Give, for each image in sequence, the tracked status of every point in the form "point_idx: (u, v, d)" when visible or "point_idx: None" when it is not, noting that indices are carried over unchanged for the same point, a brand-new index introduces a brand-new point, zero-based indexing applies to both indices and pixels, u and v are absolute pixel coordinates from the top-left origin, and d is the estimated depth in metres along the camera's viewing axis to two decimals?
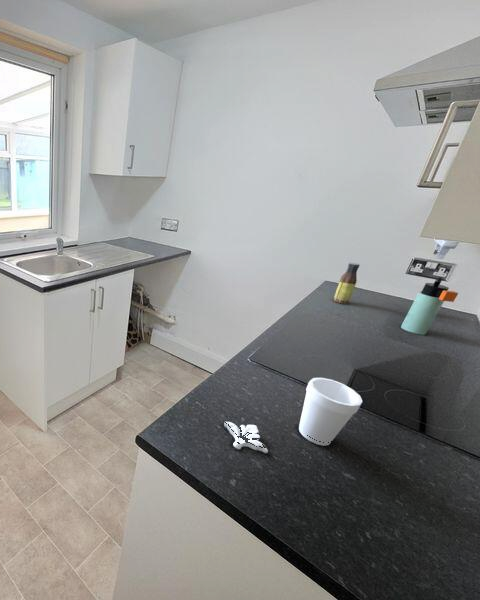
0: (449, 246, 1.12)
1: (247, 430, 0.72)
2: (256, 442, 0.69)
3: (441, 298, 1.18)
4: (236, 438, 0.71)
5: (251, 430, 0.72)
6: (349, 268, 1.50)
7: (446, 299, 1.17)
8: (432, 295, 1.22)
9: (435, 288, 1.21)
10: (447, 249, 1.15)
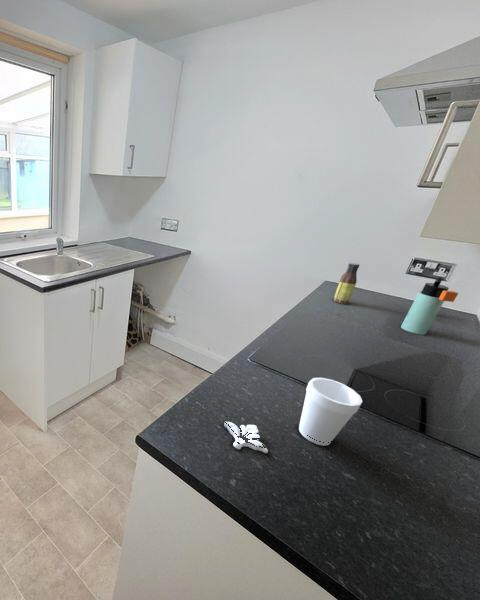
0: None
1: (247, 430, 0.72)
2: (256, 442, 0.69)
3: (441, 298, 1.18)
4: (236, 438, 0.71)
5: (251, 430, 0.72)
6: (349, 268, 1.50)
7: (446, 299, 1.17)
8: (432, 295, 1.22)
9: (435, 288, 1.21)
10: None
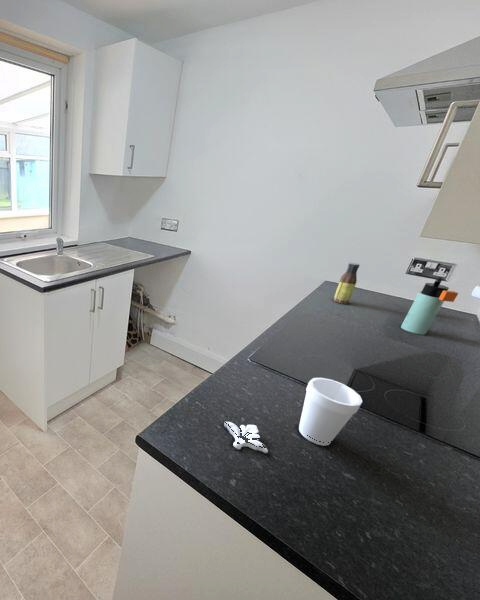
0: (473, 291, 0.99)
1: (247, 430, 0.72)
2: (256, 442, 0.69)
3: (441, 298, 1.18)
4: (236, 438, 0.71)
5: (251, 430, 0.72)
6: (349, 268, 1.50)
7: (446, 299, 1.17)
8: (432, 295, 1.22)
9: (435, 288, 1.21)
10: None
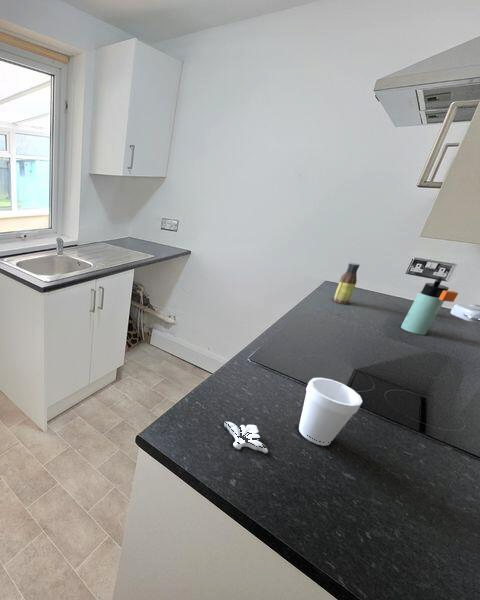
0: (452, 309, 1.05)
1: (247, 430, 0.72)
2: (256, 442, 0.69)
3: (441, 298, 1.18)
4: (236, 438, 0.71)
5: (251, 430, 0.72)
6: (349, 268, 1.50)
7: (446, 299, 1.17)
8: (432, 295, 1.22)
9: (435, 288, 1.21)
10: None
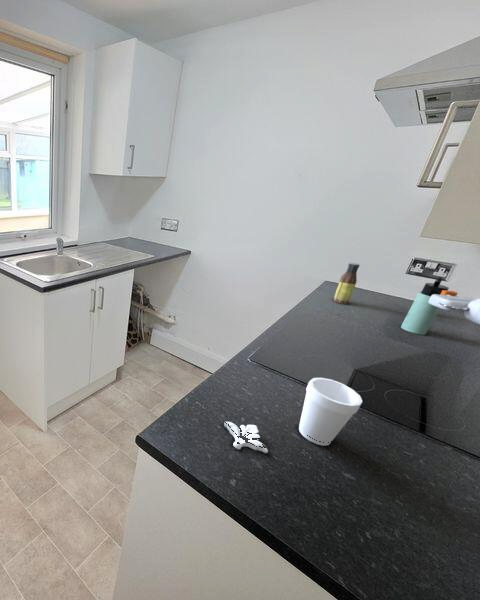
0: None
1: (247, 430, 0.72)
2: (256, 442, 0.69)
3: None
4: (236, 438, 0.71)
5: (251, 430, 0.72)
6: (349, 268, 1.50)
7: None
8: None
9: (435, 288, 1.21)
10: None
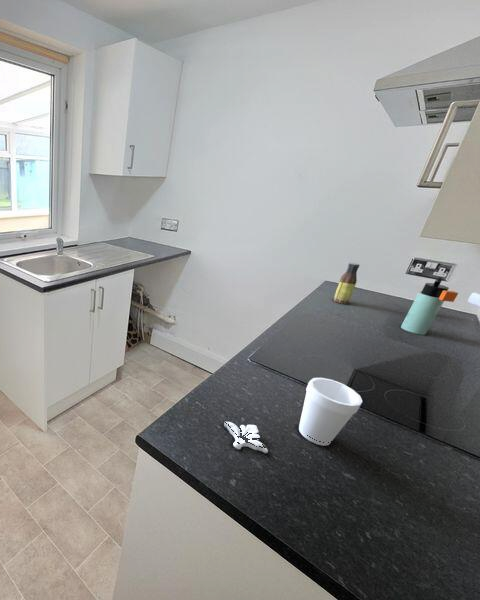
0: (469, 297, 1.00)
1: (247, 430, 0.72)
2: (256, 442, 0.69)
3: (441, 298, 1.18)
4: (236, 438, 0.71)
5: (251, 430, 0.72)
6: (349, 268, 1.50)
7: (446, 299, 1.17)
8: (432, 295, 1.22)
9: (435, 288, 1.21)
10: None
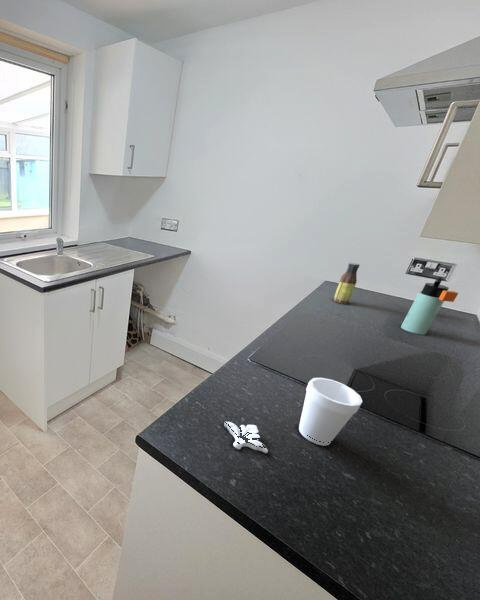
0: None
1: (247, 430, 0.72)
2: (256, 442, 0.69)
3: (441, 298, 1.18)
4: (236, 438, 0.71)
5: (251, 430, 0.72)
6: (349, 268, 1.50)
7: (446, 299, 1.17)
8: (432, 295, 1.22)
9: (435, 288, 1.21)
10: None
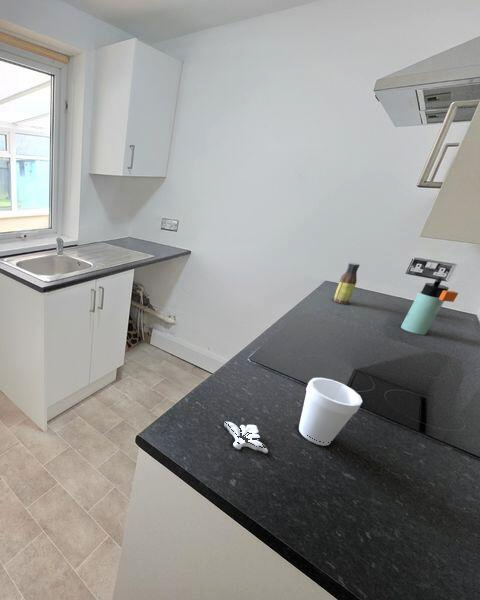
0: None
1: (247, 430, 0.72)
2: (256, 442, 0.69)
3: (441, 298, 1.18)
4: (236, 438, 0.71)
5: (251, 430, 0.72)
6: (349, 268, 1.50)
7: (446, 299, 1.17)
8: (432, 295, 1.22)
9: (435, 288, 1.21)
10: None
